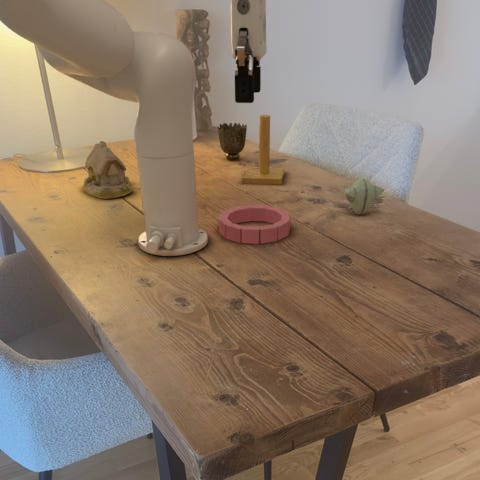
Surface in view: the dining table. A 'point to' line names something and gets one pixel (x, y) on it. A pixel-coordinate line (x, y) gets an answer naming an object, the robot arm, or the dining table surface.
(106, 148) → the ceramic model
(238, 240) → the pink ring
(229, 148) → the cup
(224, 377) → the dining table surface
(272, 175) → the stand
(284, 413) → the dining table surface
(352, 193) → the green seashell
